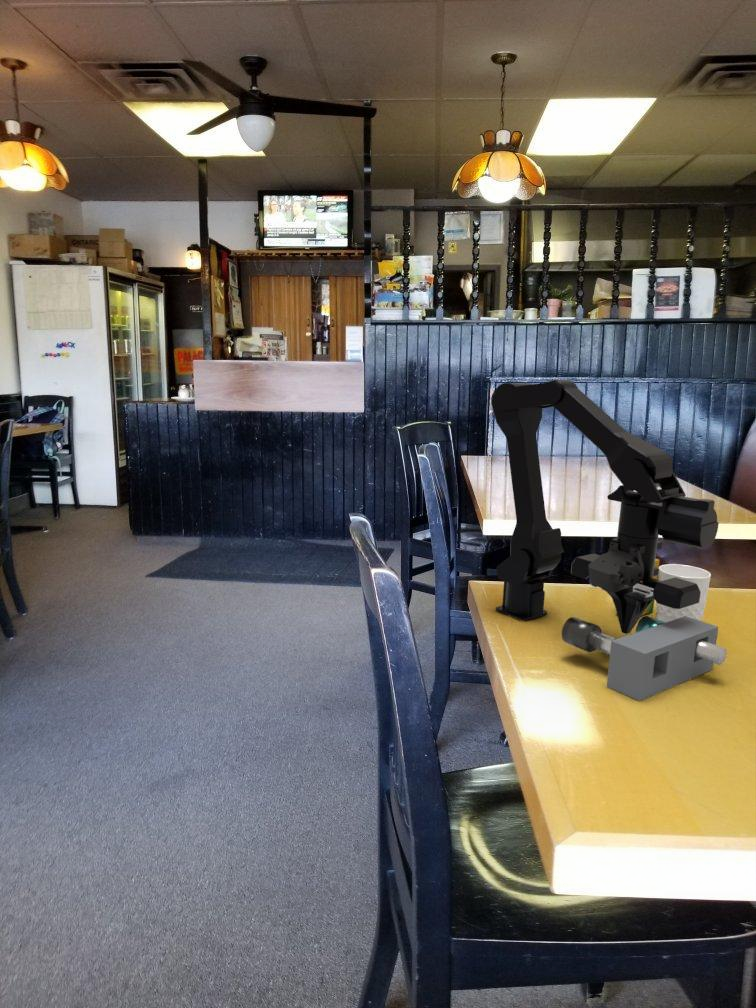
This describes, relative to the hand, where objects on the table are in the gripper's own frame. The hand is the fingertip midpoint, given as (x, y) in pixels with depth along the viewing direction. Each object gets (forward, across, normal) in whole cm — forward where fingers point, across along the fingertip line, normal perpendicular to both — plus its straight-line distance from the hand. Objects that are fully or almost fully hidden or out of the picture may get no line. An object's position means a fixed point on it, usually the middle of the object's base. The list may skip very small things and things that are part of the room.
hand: (625, 632), depth 108 cm
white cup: (+3, 0, +15) cm, 15 cm away
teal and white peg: (0, +9, 0) cm, 9 cm away
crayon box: (+3, -8, +15) cm, 17 cm away
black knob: (0, +3, -10) cm, 11 cm away
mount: (+2, +9, -5) cm, 11 cm away
